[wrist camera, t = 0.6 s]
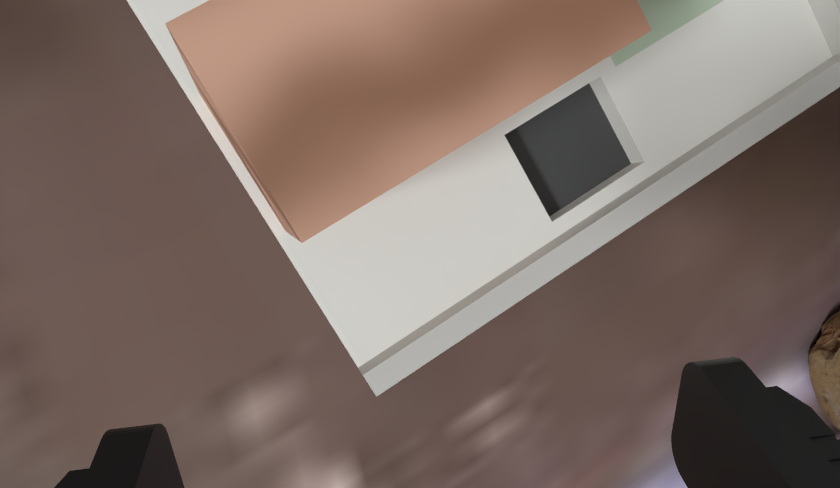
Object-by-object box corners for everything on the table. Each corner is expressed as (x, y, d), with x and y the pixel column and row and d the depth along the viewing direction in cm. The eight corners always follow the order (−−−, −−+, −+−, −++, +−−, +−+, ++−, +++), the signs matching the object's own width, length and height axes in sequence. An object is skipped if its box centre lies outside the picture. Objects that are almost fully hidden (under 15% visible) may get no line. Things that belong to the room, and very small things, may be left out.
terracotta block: (200, 96, 30) (164, 23, 18) (443, -38, 32) (548, -178, 21) (285, 231, 31) (302, 242, 20) (514, 93, 33) (651, 30, 22)
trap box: (86, -63, 30) (68, -93, 27) (650, -337, 36) (685, -386, 33) (366, 380, 34) (376, 396, 31) (834, 70, 40) (880, 59, 37)
